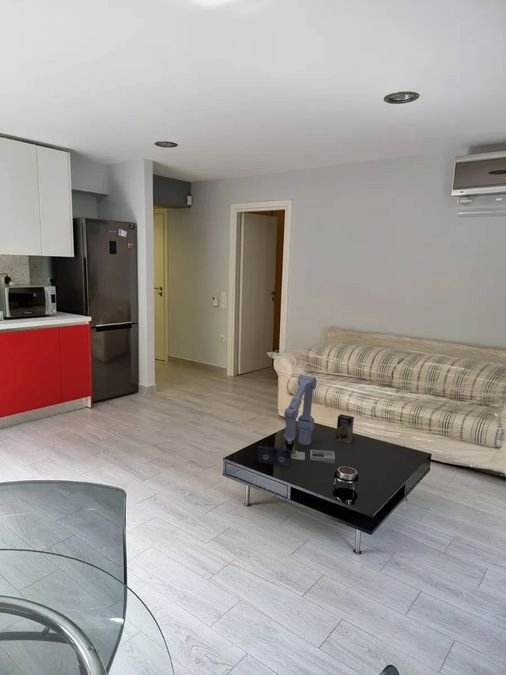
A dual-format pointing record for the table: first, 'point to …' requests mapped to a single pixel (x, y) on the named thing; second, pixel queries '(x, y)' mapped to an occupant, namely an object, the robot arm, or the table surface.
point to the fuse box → (298, 455)
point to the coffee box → (344, 428)
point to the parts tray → (327, 457)
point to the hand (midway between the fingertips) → (289, 450)
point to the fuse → (292, 449)
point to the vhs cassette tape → (274, 456)
